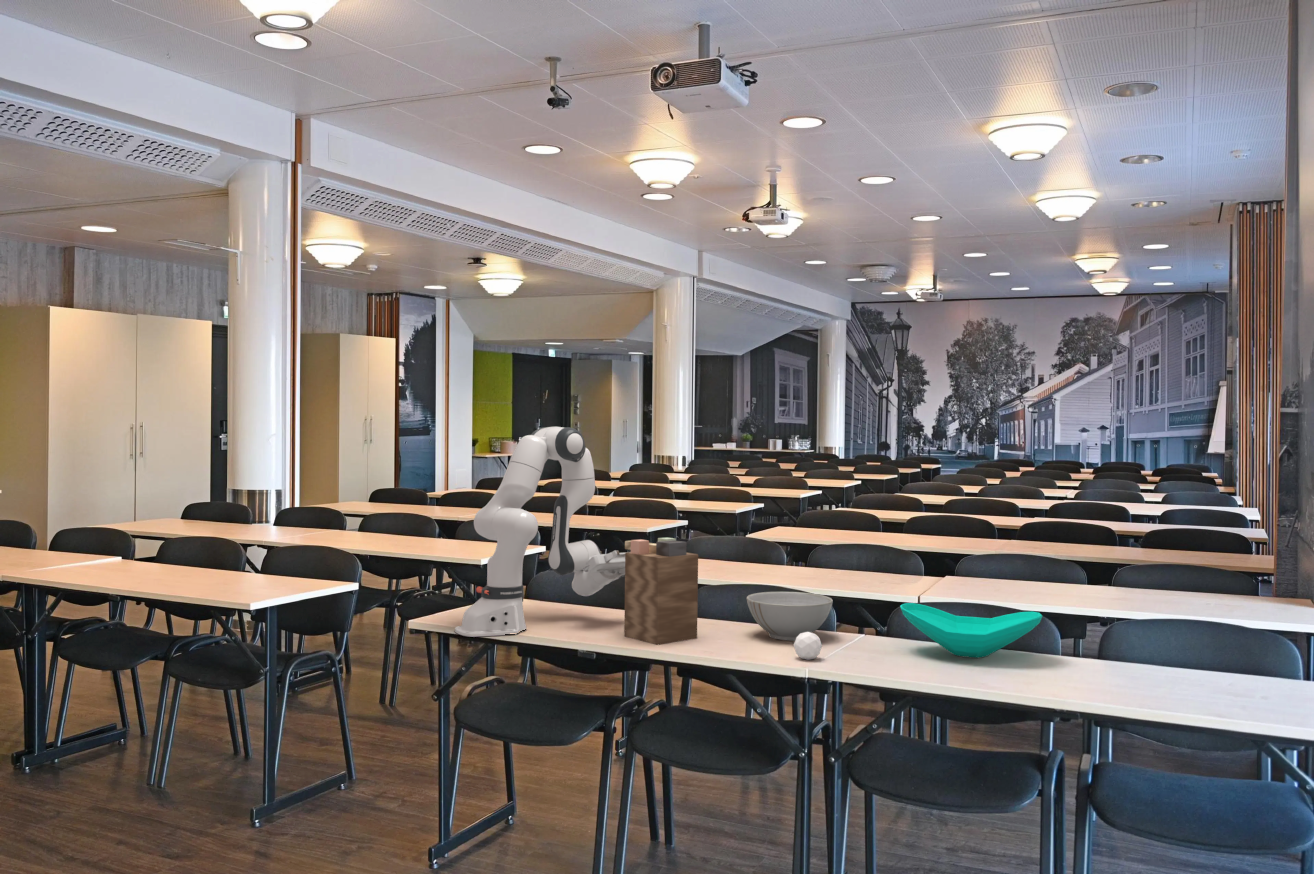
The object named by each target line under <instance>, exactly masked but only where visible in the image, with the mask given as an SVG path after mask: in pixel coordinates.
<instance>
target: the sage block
mask: <svg viewBox="0 0 1314 874" xmlns="http://www.w3.org/2000/svg"><path fill="white" fill-rule="evenodd" d="M671 540H675V541H677V538H675V537H674V538H673V537H658V538H657V542H659V541H671Z"/></svg>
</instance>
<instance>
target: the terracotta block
mask: <svg viewBox="0 0 1314 874" xmlns="http://www.w3.org/2000/svg"><path fill="white" fill-rule="evenodd" d="M630 541H631V550H630V552H631V553H633V554H649V543H650V540H647V539H631V540H630Z"/></svg>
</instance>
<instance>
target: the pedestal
mask: <svg viewBox="0 0 1314 874" xmlns="http://www.w3.org/2000/svg"><path fill="white" fill-rule="evenodd" d="M624 553H625V552H624ZM698 585H699V554H698V553H692V552H686V555H682V556H671V557H668V556H661V555H656V554H655V553H649V554H633V553H631V551H627V553H625V577H624V621H623V622H624V623H623V624H624V628H623V629H624V632H623V633H624V635H623V636H624V637H627V638H629V637H630V638H629V639H633V638H634V640H637V639H638V640H637V641H641V642H645V643H650V644H653V645H657V646H659V645H664V644H671V643H678V642H683V641H689V640H695V639H698V606H699V605H698V604H699V603H698V599H699V597H698V596H699V594H698V593H699V592H698V591H699V589H698V588H699V586H698ZM658 644H659V645H658Z"/></svg>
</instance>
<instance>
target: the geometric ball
mask: <svg viewBox="0 0 1314 874" xmlns="http://www.w3.org/2000/svg"><path fill="white" fill-rule="evenodd" d="M822 647H823V644H822V642H821V639H820V637H819V636H818V635H817V634H816V633H814V632H812V633H810V632H804V633H800V634H799V635H798V636H797V638H796V640H794V642H793V648H794V651H795V654H796V655H797V656H798V657H799V658H800V659H803V660H806V661H809V660H813V659H816V658H818V656H819V655H820V653H821V650H822Z"/></svg>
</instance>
